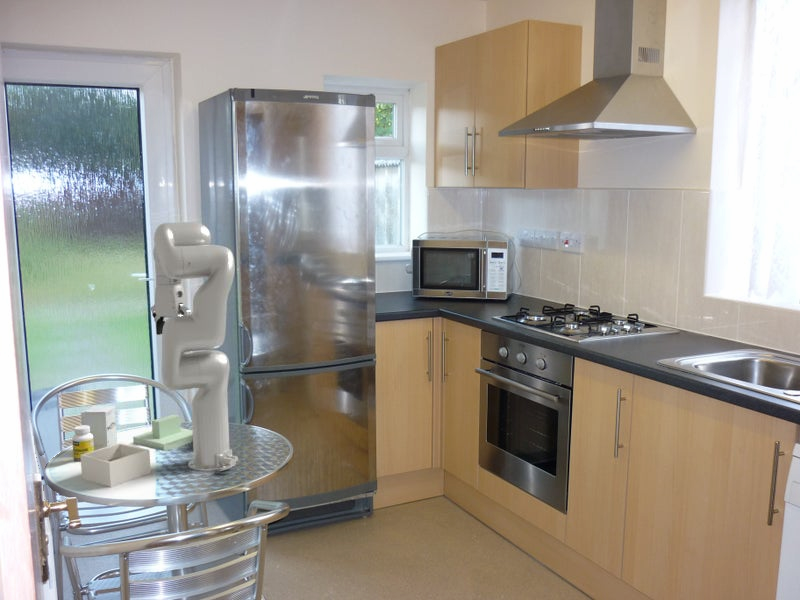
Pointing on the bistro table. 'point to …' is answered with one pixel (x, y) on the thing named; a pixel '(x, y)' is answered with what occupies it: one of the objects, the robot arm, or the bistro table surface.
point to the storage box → (115, 464)
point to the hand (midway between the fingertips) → (171, 335)
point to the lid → (165, 434)
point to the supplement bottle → (82, 442)
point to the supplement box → (101, 425)
